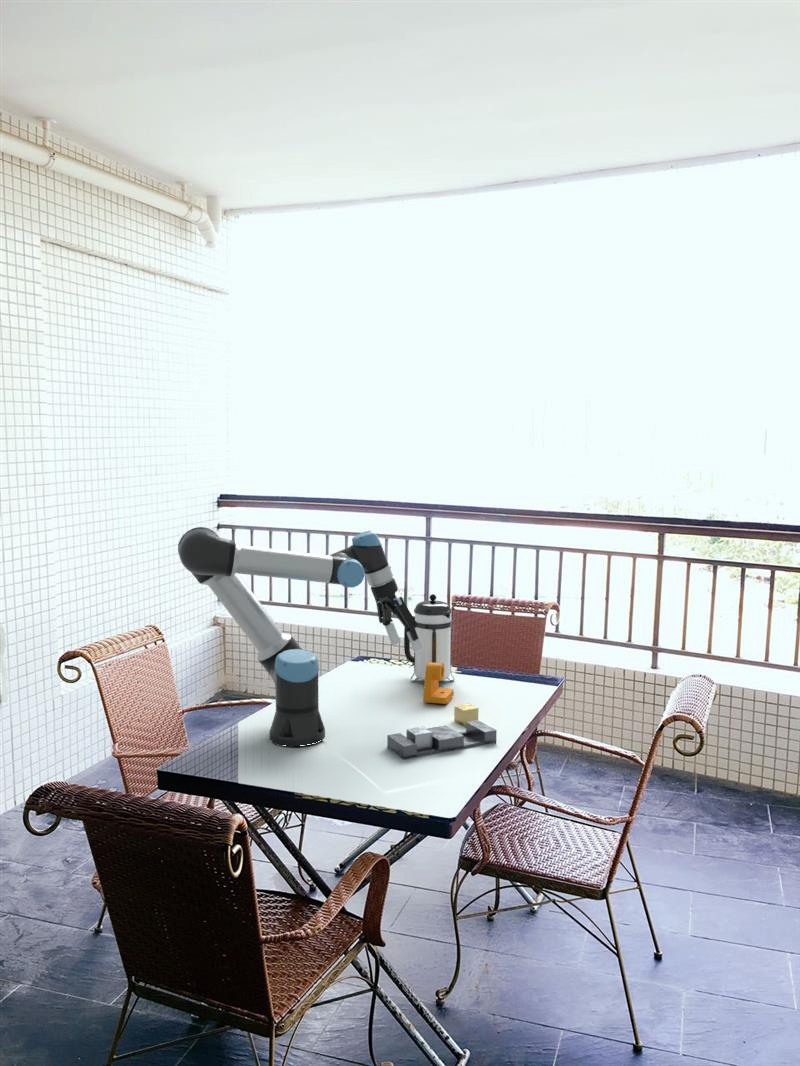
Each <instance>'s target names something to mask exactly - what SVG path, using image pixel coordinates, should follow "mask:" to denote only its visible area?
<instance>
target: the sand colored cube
mask: <svg viewBox="0 0 800 1066" xmlns="http://www.w3.org/2000/svg"><path fill="white" fill-rule="evenodd" d="M453 711H454V716H453V717H454V719H453V721H454V722H455V723H457V724H458V725H460V726H462V727H464V728H466V722H469V721H474V720H479V707H477V706H475V705H473V704H472V703H463V704H456V705H454V710H453Z"/></svg>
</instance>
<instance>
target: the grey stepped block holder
mask: <svg viewBox="0 0 800 1066" xmlns="http://www.w3.org/2000/svg"><path fill="white" fill-rule="evenodd" d="M426 729H428V730H430V731H431V732H432V749H431V750H426V751H420V752H417V744H416V743H414V742H413V741H411V740H410V739H408V738H407V737H406V736H405V735H404V734H402V733H401V732H398V733H393V734H388V735H387V737H386V738H387V741H386V742H387V746H386V747H387V749H388V750H390V751H391V752H393V753H394V754H395V755H396V756H398V757H399V758H401V759H402V760H409V759H410V760H411V759H413V758H419V757H420V758H421V757H425V756H432V755H436V754H442V753H447V752H452V751H458V750H463V749H468V748H469V749H470V748H474V747H479V746H484V745H485V746H486V745H490V744H494V745H497V732H498V730H497V729H496V728H493V727H492V726H490V725H487V724H486V723H484V722H482V721H480V720H479V719H478V720H474V721H469V722H466V727H465V730H464V731H460V732H458V731H456V730H455V729H453V728H451V727H450V726H447V725H440V726H434V727H426Z"/></svg>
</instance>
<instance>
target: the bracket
mask: <svg viewBox="0 0 800 1066" xmlns="http://www.w3.org/2000/svg"><path fill="white" fill-rule="evenodd" d="M444 670H445V669H444V664H443V663H432V662H428V663H427V666H426V673H425V680H424V684H423V693H422V702H423V703H432V704H442V705H443V704H445V705H448V704H450V702H451V701H452V700H453V697H454V694H455V692H454V688H451V687H450V688H449V687H440V685H439V683H440V682H442V681H444V680H443V678H444ZM438 680H440V681H438Z"/></svg>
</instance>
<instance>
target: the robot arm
mask: <svg viewBox="0 0 800 1066" xmlns="http://www.w3.org/2000/svg"><path fill="white" fill-rule="evenodd" d="M351 542H352V543H351V544H352V545H350V546H348V547H346V548H344V549H341V550H339V551H336V552H334V553H332V554H331V553H330V554H329V555H328V554H326V555H325V554H319V553H318V554H317V553H310V552H309V553H308V552H301V551H292V550H286V549H285V550H284V549H276V548H269V547H260V546H259V547H258V546H253V545H252V546H250V545H242V544H239V542H238V541H237V540H233V539H227V538H223V537H220V536H219V535H218V534H217V532H215V531H214V530H212V529H211V528H209V527H206V526H205V527H203V526H197V527H194V528H191V529H189V530H187V531H186V532H185V533H183V534H182V536H181V537H180V540H179V541H178V544H177V551H178V556H179V560H180V562H181V564H182V565H183V566H184V568H185V569H186V570H188V572H191V574H192V575H193V577H194V578H195V579H196V581H197V582H198V584H200V585H205V586H207V587H209V588H210V590H211V591H212V592H213V594H214V595H215V596H216V598H217V599H218V600H219V601H220V603H221V604H222V605H223V607H224V608H225V610H226V611H227V612H228V614H229V615H230V616H231V617H232V619H233V620H234V621H235V622H236V624H237V625H238V627H239V628H240V629H241V631H242V632H243V633H244V634H245V636H246V637H247V638H248V640H249V641H250V643H252V645H253V646H254V648H255V649H256V650H257V660H258V662H259V663H260V664H261V665H262V667H263V668H264V670H265V671H266V673H267V674H268V675H269V676H270V677H271V679H272V681H273V683H274V685H275V686H274V687H275V688H274V689H275V712H274V716H273V720H272V721H271V722H272V723H271V726H270V729H269V741H270V740H271V741H272V742H273V743H272V742H271V741H270V742H271V743H272V744H274V743H275V744H274V745H276V744H279V745H278V746H280V745H286V746H300V745H307V744H312V743H316V742H318V741H320V740H324V739H325V738H326V728H325V724H324V722H323V718H322V715H321V713H320V709H319V670H320V666H319V660H318V656H317V655H316V654H315V653H314V652H312V651H311V650H310V651H308V650H305V649H303V648H302V647H301V646H300V645H299V643H298V642H297V640H295V638H294V637H293V635H292V634H291V633H289V632H288V633H287V632H283V631H282V630H281V628H280V627H279V626H278V625H277V623H276V622H275V620H274V619H273V618H272V616H271V615H270V613H268V611H267V610H266V608H265V607H264V606H263V604H262V602H261V601H260V600H259V599H258V598H257V596H256V595H255V593H253V591H252V589H250V587H249V585H248V584H247V583H246V582H245V580H244V579H243V578H242V575H247V576H248V575H251V576H258V577H259V576H260V577H267V578H278V579H287V580H296V581H304V582H305V581H306V582H307V581H308V582H313V583H314V582H315V583H316V582H317V583H322V584H324V583H325V584H327V585H328V584H332V585H340V586H343V587H345V588H356V587H358V586H359V585H361V583H363V581H364V579H365V578H366V581H367V583H368V585H369V586H370V591H371V593H372V595H373V597H374V600H375V604H376V610H377V617H378V622H379V623H380V624H382V625H383V627H384V628H385V630H386V633H387V636H388V638H389V641H390V643H391V646H393V647H394V646H396V645H397V644H399V643H401V639H400V637H399V635H398V632H397V629H396V627H395V625H394V624H395V623H394V622H393V619H392V615H394V616H396V618H397V619H398V620H399V622H400V623H401V624H402V625H403V627H404V628H406V633H407V635H408V638H409V640H410V647H412V650H413V653H414V652H416V651H417V650H419V649H421V648H422V645H421V642H420V640H419V637H418V635H417V632H416V629H415V628H416V627H418V624H417V623H416V621H415V619H414V618H413V617H414V616H413V614H412V613H411V611H410V610H409V607H407V605H406V603H405V601H404V598H403V597H402V596H399V597H398V596H397V595H396V593H397V592H398V589H399V588H398V584H397V582H396V579H395V578H393V577H394V575H393V573H392V570H391V568H392V567H391V566H390V564H389V561H388V559H387V556H386V553H385V551H384V547H383V546H382V543H381V540H380V538H379V536H378V534H377V532H376V531H375V530H367V531H362V532H361V533H357V534H356V535H354V536H353V537H352V539H351Z"/></svg>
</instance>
